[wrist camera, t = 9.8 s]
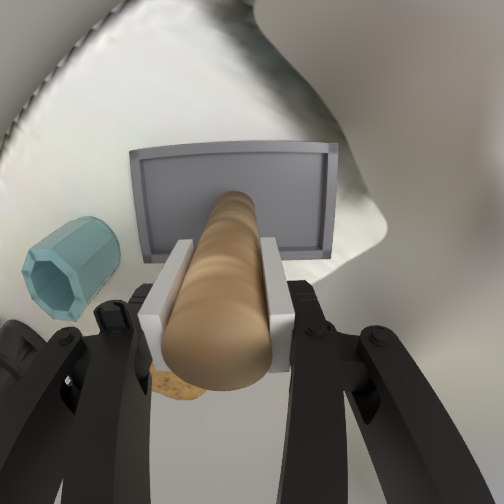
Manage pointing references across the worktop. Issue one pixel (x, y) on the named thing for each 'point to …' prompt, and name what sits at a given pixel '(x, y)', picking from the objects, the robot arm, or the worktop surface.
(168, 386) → the potato
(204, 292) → the dowel
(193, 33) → the worktop surface
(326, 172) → the tray
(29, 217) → the worktop surface
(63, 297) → the cup
